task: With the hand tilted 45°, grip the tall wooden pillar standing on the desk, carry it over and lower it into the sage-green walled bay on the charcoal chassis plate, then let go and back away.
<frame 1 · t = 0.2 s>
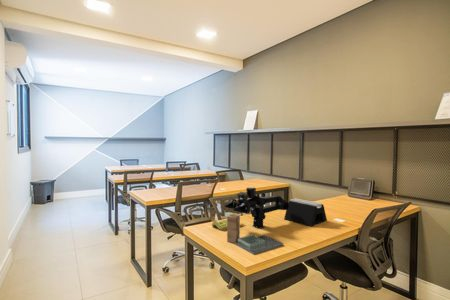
hand: (229, 208, 161), 17 cm above the table, tool horizontal, fingers open, 9 cm apart
tall wooden pillar: (233, 240, 150), on the table
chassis: (259, 244, 144), on the table
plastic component: (227, 226, 177), on the table
device stand: (305, 220, 191), on the table
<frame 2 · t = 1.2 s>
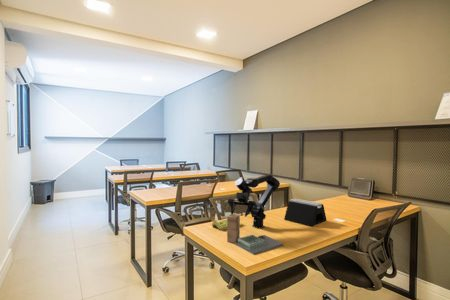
hand: (238, 215, 156), 13 cm above the table, tool tilted 45°, fingers open, 9 cm apart
nothing on the table moved.
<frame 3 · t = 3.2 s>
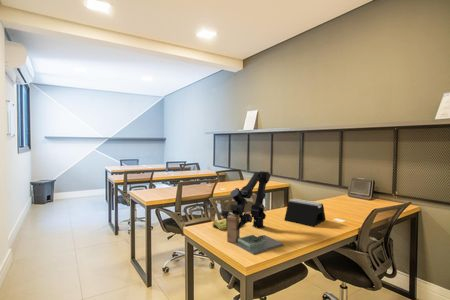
hand: (232, 228, 148), 8 cm above the table, tool tilted 45°, fingers open, 7 cm apart
tall wooden pillar: (233, 240, 150), on the table, touching gripper
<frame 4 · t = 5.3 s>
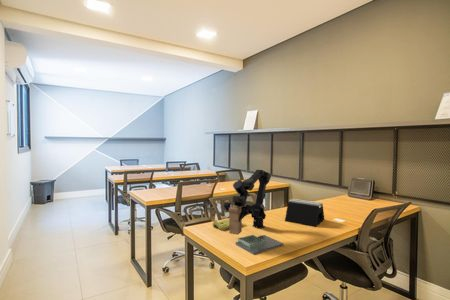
hand: (234, 220, 147), 13 cm above the table, tool tilted 45°, fingers closed on tall wooden pillar, 5 cm apart
tall wooden pillar: (235, 232, 149), point 5 cm above the table, touching gripper
when the fingers open (9 cm above the table, at t = 7.5 s): tall wooden pillar stays where it is, resting on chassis.
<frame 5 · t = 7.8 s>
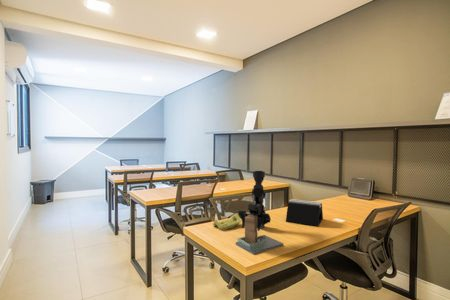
hand: (250, 229, 142), 9 cm above the table, tool tilted 45°, fingers open, 9 cm apart
tall wooden pillar: (251, 242, 144), point 1 cm above the table, touching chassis, gripper
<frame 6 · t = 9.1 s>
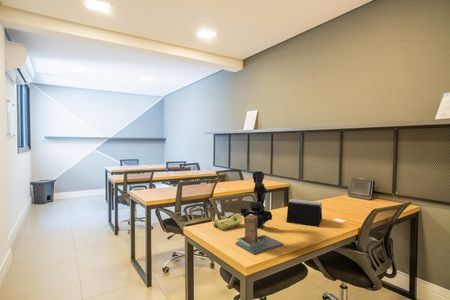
hand: (252, 226, 145), 10 cm above the table, tool tilted 45°, fingers open, 9 cm apart
tall wooden pillar: (251, 242, 144), point 1 cm above the table, touching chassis
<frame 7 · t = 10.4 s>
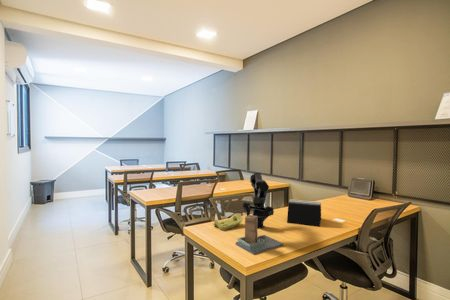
hand: (254, 221, 151), 11 cm above the table, tool tilted 40°, fingers open, 9 cm apart
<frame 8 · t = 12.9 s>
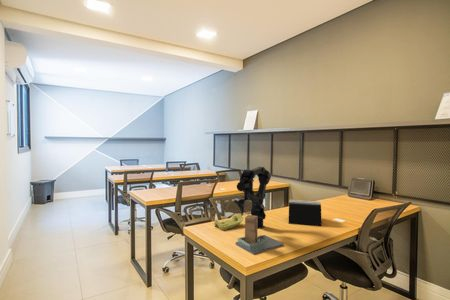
hand: (248, 213, 163), 13 cm above the table, tool pointing down, fingers open, 9 cm apart
at the end: tall wooden pillar 0.1 cm from the target spot on the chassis, point 1.2 cm above the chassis's base; tall wooden pillar tilted 0°; the gripper is holding nothing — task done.
